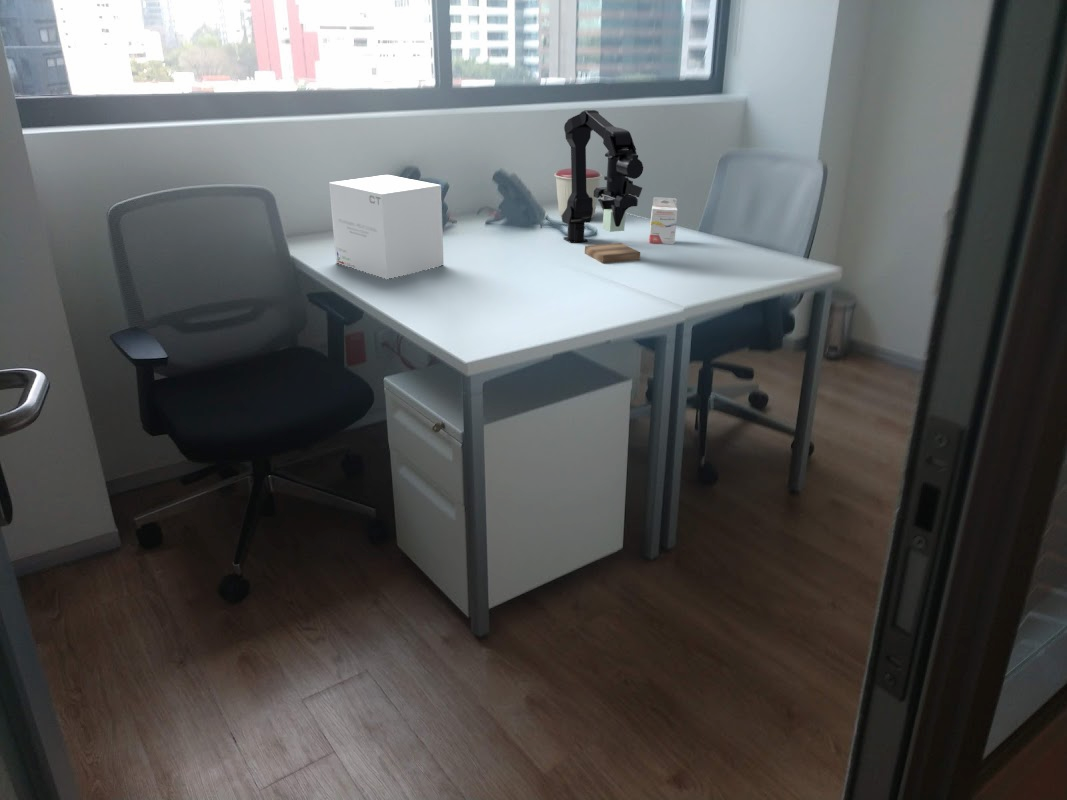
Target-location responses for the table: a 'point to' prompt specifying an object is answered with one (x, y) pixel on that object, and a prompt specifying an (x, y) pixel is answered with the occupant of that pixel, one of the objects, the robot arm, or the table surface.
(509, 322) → the table surface
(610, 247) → the walnut base
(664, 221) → the ink cartridge box
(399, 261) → the cube
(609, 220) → the sage block
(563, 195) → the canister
